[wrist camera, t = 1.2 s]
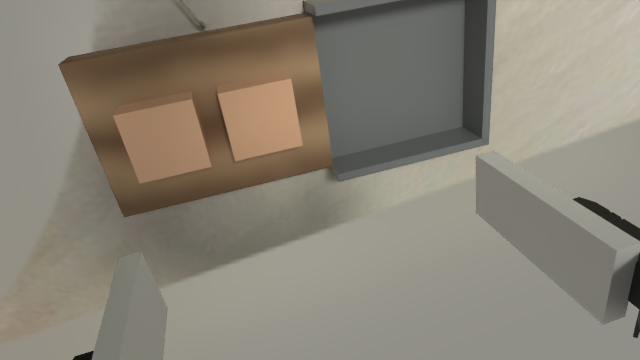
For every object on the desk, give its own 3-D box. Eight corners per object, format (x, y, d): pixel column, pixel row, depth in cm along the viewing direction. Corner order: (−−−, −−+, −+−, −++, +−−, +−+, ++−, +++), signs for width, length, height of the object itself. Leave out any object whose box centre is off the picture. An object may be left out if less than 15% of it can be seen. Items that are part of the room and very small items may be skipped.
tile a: (118, 106, 35) (112, 115, 33) (192, 91, 36) (192, 99, 34) (142, 171, 38) (139, 183, 36) (211, 155, 39) (211, 166, 37)
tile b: (216, 86, 36) (217, 93, 34) (285, 71, 37) (291, 78, 35) (233, 150, 39) (235, 161, 37) (297, 135, 40) (302, 145, 38)
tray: (302, 0, 38) (314, 5, 34) (468, -30, 40) (497, -29, 36) (326, 162, 46) (339, 181, 42) (465, 129, 48) (488, 144, 44)
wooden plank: (68, 57, 35) (58, 64, 33) (304, 13, 38) (312, 16, 36) (128, 201, 42) (124, 217, 39) (325, 154, 45) (333, 166, 42)
